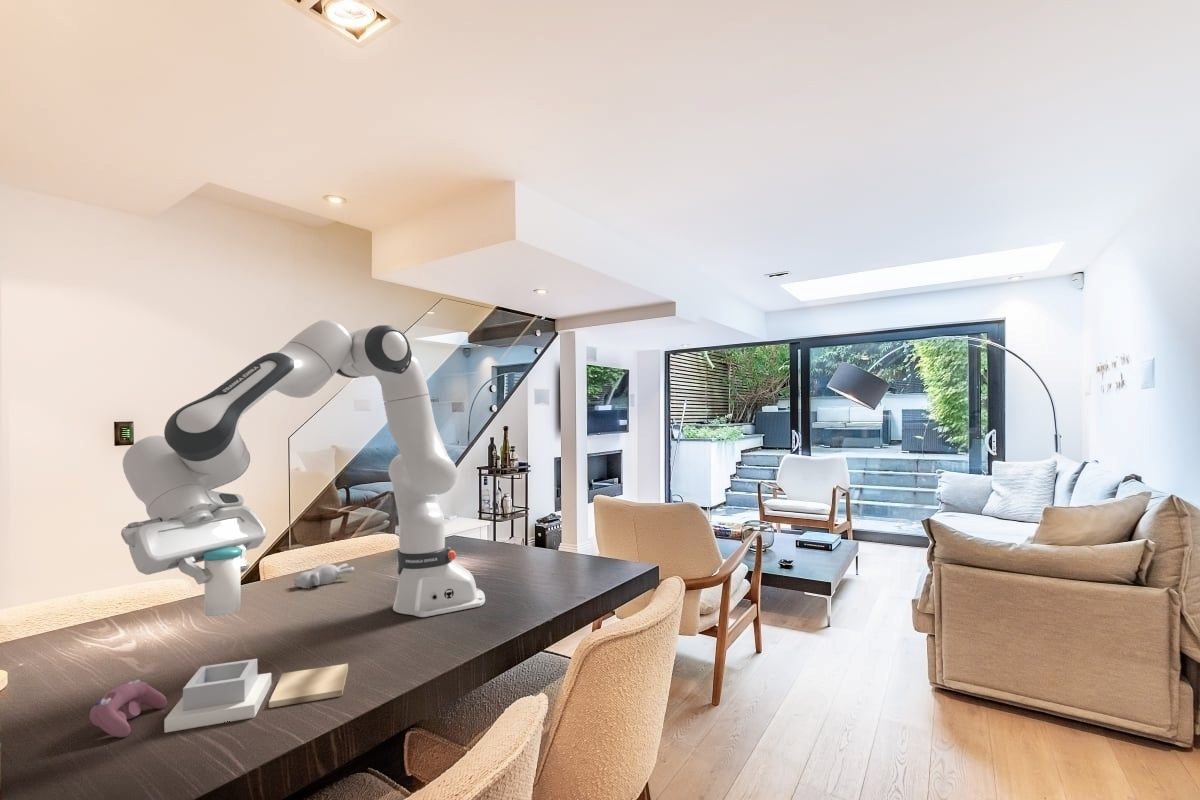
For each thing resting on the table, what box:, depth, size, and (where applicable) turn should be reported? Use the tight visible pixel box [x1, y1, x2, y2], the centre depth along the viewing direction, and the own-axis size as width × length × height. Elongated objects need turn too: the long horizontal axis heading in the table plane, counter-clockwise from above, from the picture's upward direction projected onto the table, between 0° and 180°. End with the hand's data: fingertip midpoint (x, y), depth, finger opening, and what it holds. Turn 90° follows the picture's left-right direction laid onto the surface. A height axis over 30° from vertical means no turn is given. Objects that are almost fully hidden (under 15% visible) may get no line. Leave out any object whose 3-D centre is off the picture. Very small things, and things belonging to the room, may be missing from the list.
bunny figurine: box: [293, 563, 355, 589], centre depth 163 cm, size 10×5×15 cm
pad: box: [268, 663, 349, 709], centre depth 99 cm, size 11×11×1 cm
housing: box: [163, 658, 272, 733], centre depth 93 cm, size 12×12×6 cm
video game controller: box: [89, 679, 168, 738], centre depth 89 cm, size 10×5×7 cm, turn 6°
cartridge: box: [203, 547, 242, 617], centre depth 94 cm, size 5×5×10 cm
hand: (225, 575), depth 94 cm, fingers closed on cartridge, 5 cm apart
